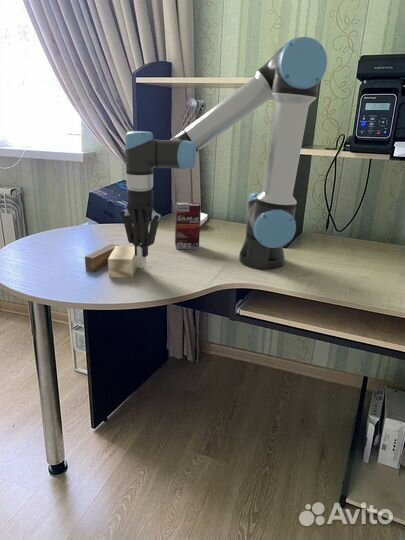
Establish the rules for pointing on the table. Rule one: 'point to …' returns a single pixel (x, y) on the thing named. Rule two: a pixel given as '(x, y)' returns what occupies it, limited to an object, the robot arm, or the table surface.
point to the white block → (202, 218)
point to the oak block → (122, 262)
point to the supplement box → (187, 225)
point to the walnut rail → (98, 258)
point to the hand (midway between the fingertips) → (141, 266)
